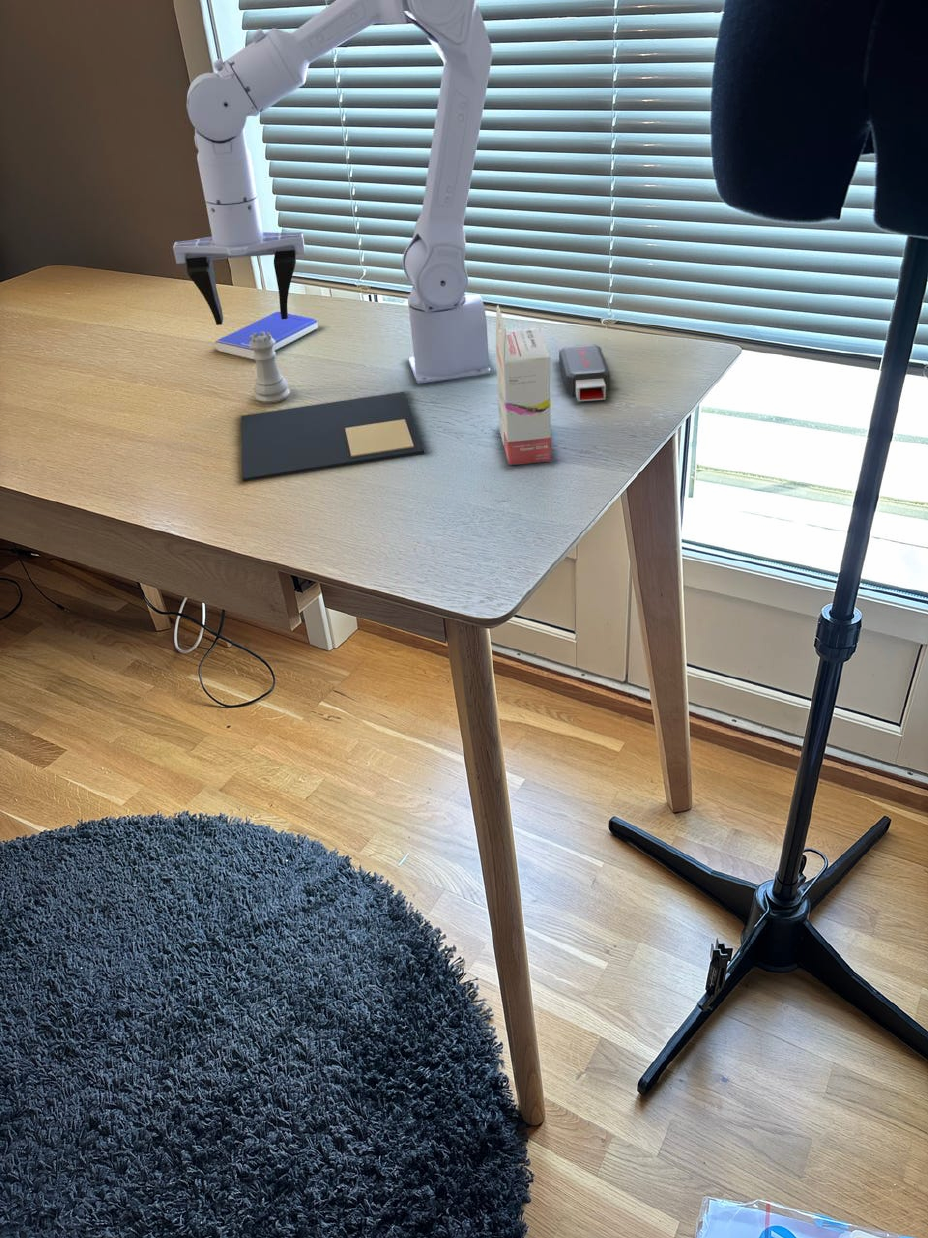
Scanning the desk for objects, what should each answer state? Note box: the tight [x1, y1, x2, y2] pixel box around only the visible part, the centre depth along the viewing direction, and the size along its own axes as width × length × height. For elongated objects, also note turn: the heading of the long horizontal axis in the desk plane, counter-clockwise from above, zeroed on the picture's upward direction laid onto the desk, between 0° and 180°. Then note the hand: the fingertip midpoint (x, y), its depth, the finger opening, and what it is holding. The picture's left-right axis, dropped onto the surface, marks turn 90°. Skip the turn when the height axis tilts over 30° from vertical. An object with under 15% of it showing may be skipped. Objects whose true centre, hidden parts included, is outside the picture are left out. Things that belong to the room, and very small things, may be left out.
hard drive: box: [214, 311, 319, 361], centre depth 136 cm, size 2×8×12 cm
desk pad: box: [240, 391, 425, 482], centre depth 111 cm, size 20×16×1 cm
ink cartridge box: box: [495, 304, 552, 466], centre depth 101 cm, size 9×5×15 cm, turn 5°
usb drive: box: [558, 344, 611, 402], centre depth 117 cm, size 5×12×3 cm, turn 1°
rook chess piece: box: [249, 332, 291, 405], centre depth 118 cm, size 4×4×8 cm
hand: (252, 319), depth 114 cm, fingers open, 7 cm apart
